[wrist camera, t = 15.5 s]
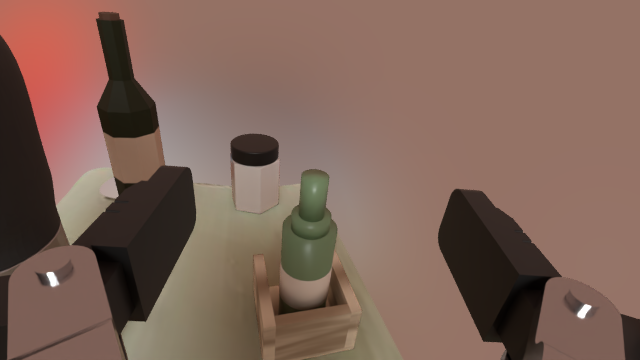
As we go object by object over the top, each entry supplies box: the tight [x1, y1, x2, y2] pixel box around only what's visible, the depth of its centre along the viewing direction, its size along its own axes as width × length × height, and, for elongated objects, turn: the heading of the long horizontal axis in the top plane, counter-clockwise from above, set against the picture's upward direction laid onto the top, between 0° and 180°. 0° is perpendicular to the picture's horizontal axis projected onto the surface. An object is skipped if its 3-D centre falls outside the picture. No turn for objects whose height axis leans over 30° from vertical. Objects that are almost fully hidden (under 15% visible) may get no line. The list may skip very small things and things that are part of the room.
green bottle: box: [278, 169, 337, 315], centre depth 36 cm, size 6×6×20 cm
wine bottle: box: [96, 12, 165, 195], centre depth 55 cm, size 8×8×30 cm
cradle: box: [253, 249, 362, 360], centre depth 40 cm, size 10×10×7 cm
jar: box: [230, 134, 280, 214], centre depth 60 cm, size 9×8×12 cm
